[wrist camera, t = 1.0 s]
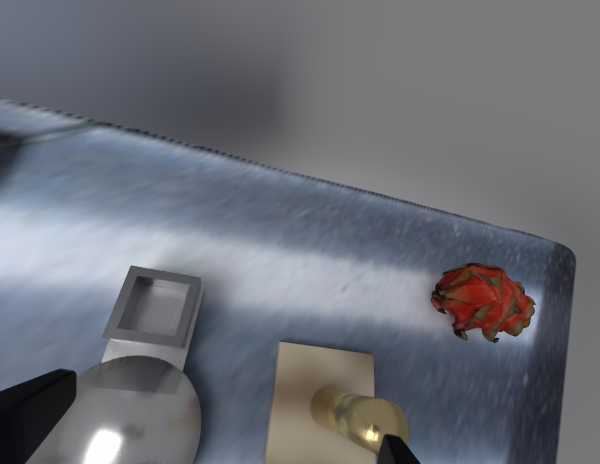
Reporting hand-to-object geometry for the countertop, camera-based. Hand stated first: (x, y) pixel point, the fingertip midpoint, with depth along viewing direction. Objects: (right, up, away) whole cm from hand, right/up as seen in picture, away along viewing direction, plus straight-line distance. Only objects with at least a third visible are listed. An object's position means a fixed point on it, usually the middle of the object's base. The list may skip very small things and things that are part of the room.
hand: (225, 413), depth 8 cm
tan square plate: (+4, -11, +18) cm, 22 cm away
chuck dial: (-11, -7, +15) cm, 20 cm away
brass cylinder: (+4, -11, +18) cm, 21 cm away
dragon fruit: (+22, -4, +28) cm, 35 cm away
